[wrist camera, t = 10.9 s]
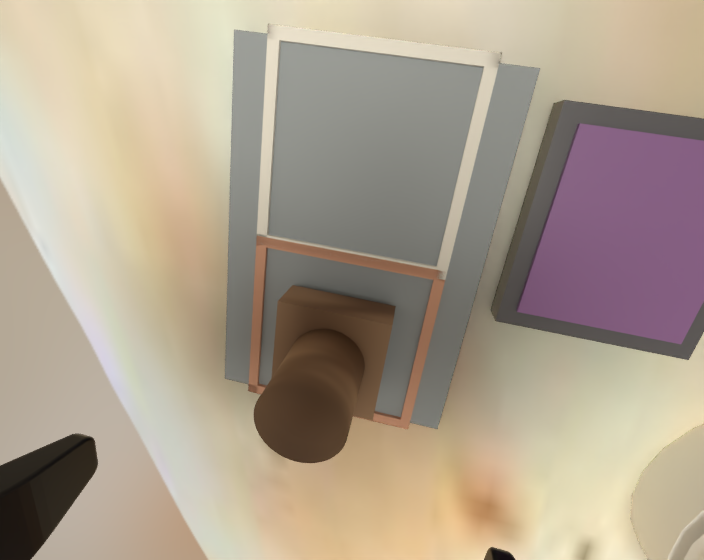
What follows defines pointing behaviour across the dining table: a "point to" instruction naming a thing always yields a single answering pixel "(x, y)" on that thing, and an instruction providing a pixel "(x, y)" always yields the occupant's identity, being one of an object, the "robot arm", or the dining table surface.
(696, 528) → the honey pot
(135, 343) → the dining table surface
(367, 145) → the board
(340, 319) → the stamp
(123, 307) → the dining table surface
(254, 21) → the dining table surface
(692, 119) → the ink pad
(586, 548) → the dining table surface
